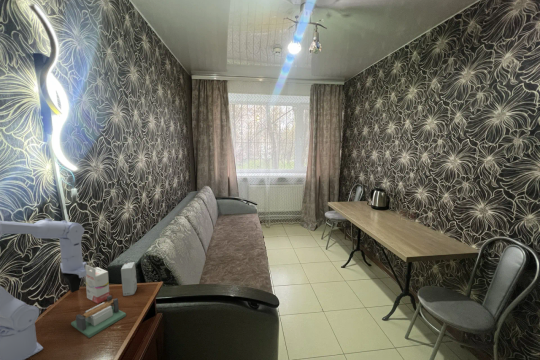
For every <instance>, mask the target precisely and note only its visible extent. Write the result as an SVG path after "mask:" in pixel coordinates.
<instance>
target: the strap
mask: <svg viewBox="0 0 540 360" xmlns="http://www.w3.org/2000/svg"><path fill="white" fill-rule="evenodd" d="M114 299H115V298H112V300H110V301H108V302H107V301H106V302H105V303H104V304H102V305H100V306H98V307H96V308H94V309H92V310H90V311H88V312H86V313H85V312H84V313H83V314H82V316H83V317H85V318H88V317H89V316H91V315H93V314H95V313H97V312H99V311H101V310H103V309H105V308H107V307H109V306H110V305H112V304H113V300H114Z"/></svg>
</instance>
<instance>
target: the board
mask: <svg viewBox="0 0 540 360" xmlns="http://www.w3.org/2000/svg"><path fill="white" fill-rule="evenodd" d="M112 299H114V300H113V304H112V305H110V306H109V307H107V308H105V309H103V310H101V311H99V312H97V313H95V314H93V315H91V316H89V317H88V318H85V317H83V314H82V315H81V314H80V313H78V314H76V316H75V320H73V321H71V322H70V324H71V326H72V327H73V328H74V329H75V330H77V331H79V332H80V333H82V334H83V335H84V336H86V338H88V339H89V338H92V337H93V336H95V335H97V334H98V333H100V332H101V331H104V330H106V329H107V328H108V327H109V326H111V325H113V324H115V323H117V322H118V321H120V320H122V319H123V318H125V317H127V313H126V312H124V311H122V310H120V308H119V299H118V298H117V297H116V298H113V295H111V294H110V295H109V296H107V299H106V302H108V301H110V300H112ZM106 302H105V301H102V303H101V302H100V303H98V304H97V305H95V306H93V307H91V308H90V309H87V310H85V312H84V313H86V312H88V311H90V310H92V309H94V308H96V307H98V306H100V305H102V304H104V303H106Z"/></svg>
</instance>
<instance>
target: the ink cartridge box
mask: <svg viewBox="0 0 540 360" xmlns="http://www.w3.org/2000/svg"><path fill="white" fill-rule="evenodd" d="M84 268H85V270H86V273H87V276H84V277H85V287H86V288H85V289H86V298H87V299H88V300H90V301H92V302H94V303H95V304H97V305H99V304H101V302H102V303H103V302H105V301H107V296H109V295H111V294H110V283H109V271H108V270H105V269H103V268H100V267H98V266H96V267H92V266H90V265H88V264H87V265H84Z"/></svg>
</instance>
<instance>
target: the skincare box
mask: <svg viewBox="0 0 540 360" xmlns="http://www.w3.org/2000/svg"><path fill="white" fill-rule="evenodd" d="M120 274H121V286H122V297H125V296H127V297H128V296H133V295H135V293H136V291H137V288H138V283H137V282H138V281H137V271H136V262H135V261H133V262H125V263H124V264H122V267H121V269H120Z"/></svg>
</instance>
